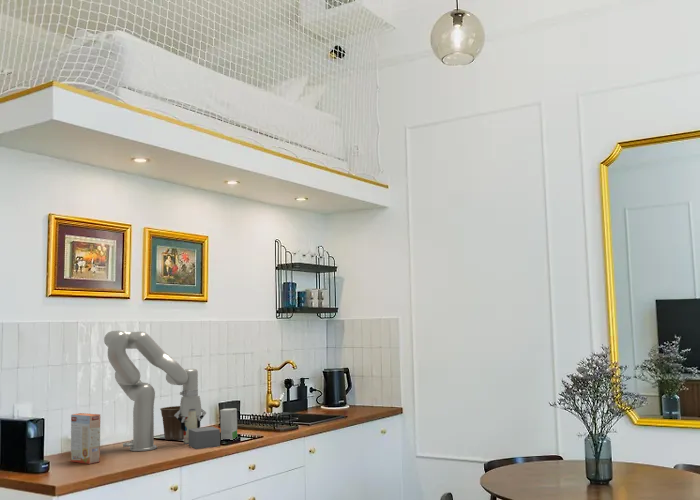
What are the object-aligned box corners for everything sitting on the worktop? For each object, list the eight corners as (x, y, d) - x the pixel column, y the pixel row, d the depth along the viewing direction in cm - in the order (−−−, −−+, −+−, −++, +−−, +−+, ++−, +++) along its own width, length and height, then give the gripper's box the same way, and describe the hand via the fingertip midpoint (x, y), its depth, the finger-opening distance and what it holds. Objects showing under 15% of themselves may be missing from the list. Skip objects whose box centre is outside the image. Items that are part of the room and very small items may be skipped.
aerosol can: (182, 442, 358) (182, 402, 360) (196, 441, 361) (195, 401, 363) (185, 444, 352) (184, 403, 354) (198, 443, 355) (198, 402, 357)
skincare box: (232, 441, 358) (231, 409, 360) (219, 441, 360) (219, 410, 361) (237, 438, 366) (237, 407, 368) (225, 438, 368) (225, 407, 369)
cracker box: (101, 462, 312) (101, 413, 314) (88, 464, 307) (89, 415, 309) (82, 459, 320) (82, 412, 322) (70, 461, 315) (70, 414, 317)
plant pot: (154, 439, 373) (154, 408, 374) (180, 435, 384) (180, 404, 386) (171, 442, 362) (171, 409, 363) (198, 437, 373) (197, 406, 375)
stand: (195, 449, 339) (195, 431, 339) (188, 445, 349) (188, 429, 350) (220, 446, 344) (219, 429, 345) (212, 442, 355) (212, 426, 356)
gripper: (175, 395, 352) (175, 432, 350) (209, 392, 360) (209, 428, 358) (171, 394, 358) (171, 430, 356) (204, 391, 366) (205, 427, 365)
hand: (190, 429), depth 357 cm, fingers closed on aerosol can, 6 cm apart
